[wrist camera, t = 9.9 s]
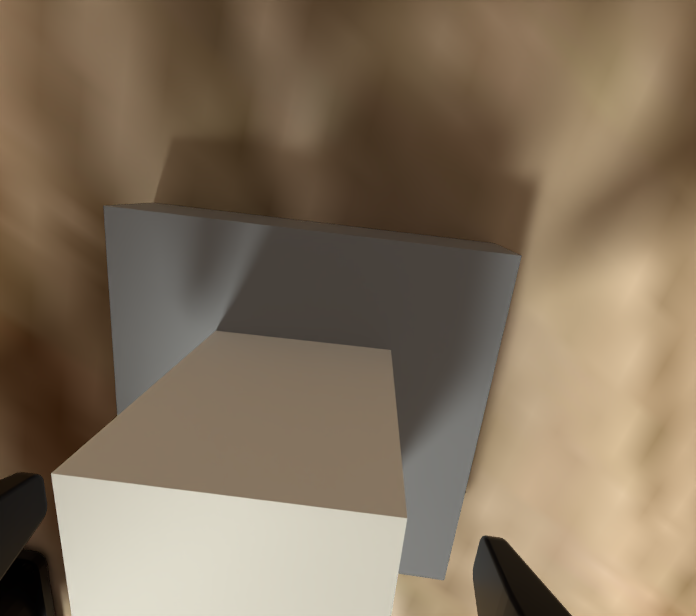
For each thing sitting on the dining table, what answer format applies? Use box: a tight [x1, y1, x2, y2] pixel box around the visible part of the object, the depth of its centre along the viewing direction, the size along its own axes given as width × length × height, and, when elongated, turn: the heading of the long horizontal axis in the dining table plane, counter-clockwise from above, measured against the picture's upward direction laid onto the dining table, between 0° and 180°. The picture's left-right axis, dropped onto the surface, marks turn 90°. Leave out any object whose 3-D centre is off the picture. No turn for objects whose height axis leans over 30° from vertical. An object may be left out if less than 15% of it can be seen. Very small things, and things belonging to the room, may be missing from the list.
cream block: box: [51, 331, 407, 616], centre depth 9 cm, size 5×5×6 cm
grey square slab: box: [103, 203, 521, 580], centre depth 13 cm, size 11×11×3 cm
